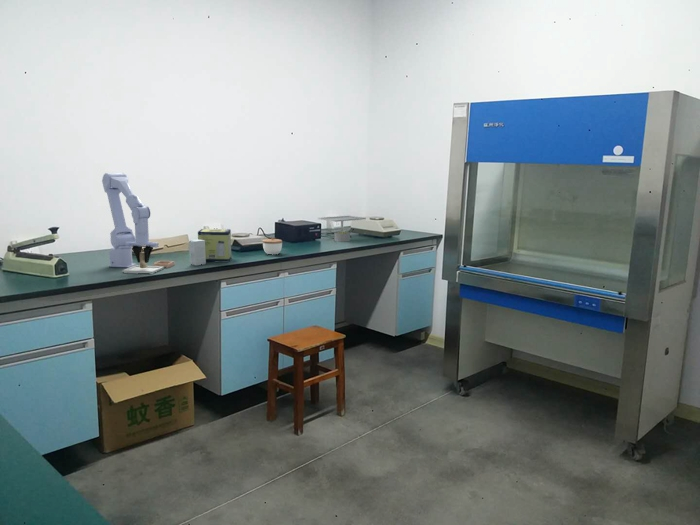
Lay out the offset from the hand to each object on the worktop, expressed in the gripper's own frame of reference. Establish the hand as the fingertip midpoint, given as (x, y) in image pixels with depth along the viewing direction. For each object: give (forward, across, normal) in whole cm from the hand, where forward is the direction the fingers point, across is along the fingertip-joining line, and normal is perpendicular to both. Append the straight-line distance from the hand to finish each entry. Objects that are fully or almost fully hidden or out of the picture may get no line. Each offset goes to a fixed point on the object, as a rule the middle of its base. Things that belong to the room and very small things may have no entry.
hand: (143, 262), depth 257 cm
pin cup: (+4, +4, +13) cm, 14 cm away
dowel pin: (+2, 0, 0) cm, 2 cm away
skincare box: (+4, +18, +21) cm, 28 cm away
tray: (+4, 0, 0) cm, 4 cm away
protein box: (+4, +22, +34) cm, 41 cm away
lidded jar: (+4, +46, +59) cm, 75 cm away
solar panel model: (+4, +77, +121) cm, 143 cm away
